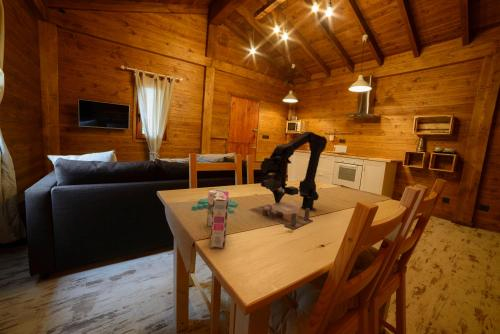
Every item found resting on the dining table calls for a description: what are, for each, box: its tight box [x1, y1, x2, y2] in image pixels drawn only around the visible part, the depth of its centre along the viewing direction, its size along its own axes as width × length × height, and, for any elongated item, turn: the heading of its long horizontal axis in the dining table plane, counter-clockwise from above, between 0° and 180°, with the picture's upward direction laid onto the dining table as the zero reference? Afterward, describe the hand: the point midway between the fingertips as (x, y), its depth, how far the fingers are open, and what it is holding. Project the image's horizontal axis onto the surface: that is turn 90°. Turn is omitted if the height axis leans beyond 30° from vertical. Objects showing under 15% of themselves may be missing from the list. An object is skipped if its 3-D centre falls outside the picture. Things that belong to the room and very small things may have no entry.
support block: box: [283, 211, 300, 221], centre depth 101 cm, size 5×5×4 cm
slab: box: [271, 200, 302, 215], centre depth 103 cm, size 10×9×2 cm
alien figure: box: [191, 197, 239, 214], centre depth 113 cm, size 20×2×20 cm
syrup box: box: [206, 188, 228, 228], centre depth 89 cm, size 6×6×14 cm
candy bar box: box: [209, 191, 229, 249], centre depth 76 cm, size 11×5×16 cm, turn 5°
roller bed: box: [247, 203, 314, 231], centre depth 105 cm, size 16×27×6 cm, turn 45°
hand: (277, 204), depth 106 cm, fingers closed
